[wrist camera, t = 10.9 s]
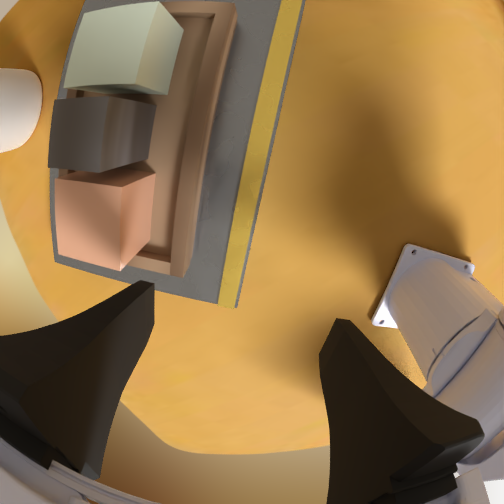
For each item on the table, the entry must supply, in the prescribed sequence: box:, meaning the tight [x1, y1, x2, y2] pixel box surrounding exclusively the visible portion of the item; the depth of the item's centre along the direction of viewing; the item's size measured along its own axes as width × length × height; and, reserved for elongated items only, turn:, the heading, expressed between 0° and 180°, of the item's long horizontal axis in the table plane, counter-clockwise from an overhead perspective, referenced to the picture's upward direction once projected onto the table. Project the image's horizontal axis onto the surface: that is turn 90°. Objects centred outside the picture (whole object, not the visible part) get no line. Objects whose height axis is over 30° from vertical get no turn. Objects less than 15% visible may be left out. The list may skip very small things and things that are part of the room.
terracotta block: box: [55, 168, 156, 271], centre depth 13 cm, size 4×4×4 cm
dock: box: [50, 0, 306, 309], centre depth 16 cm, size 16×22×3 cm
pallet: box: [48, 1, 238, 278], centre depth 12 cm, size 9×16×7 cm, turn 169°
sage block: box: [63, 1, 184, 95], centre depth 9 cm, size 4×4×4 cm
